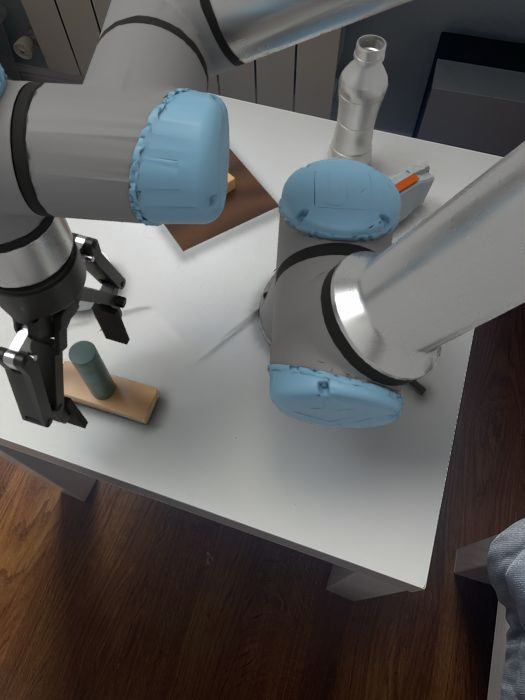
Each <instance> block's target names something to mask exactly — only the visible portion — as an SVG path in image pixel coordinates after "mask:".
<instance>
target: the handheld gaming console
mask: <svg viewBox="0 0 525 700" xmlns="http://www.w3.org/2000/svg"><path fill="white" fill-rule="evenodd" d="M430 169H431V167H430V166H429V165H428V163H426V162H422V163H419V164H415V165H411V166H408V167H406V168H405V169H403V170H401V171H400V172H398V173H396V174H395V175H393V176H392V177H389V179H390V180H391V181H392V182H393V183H394V184H395V186H396V187H397V189H398V191H399V194H400V197H401V210H400V214H401V215H400V216H401V218H400V220H399V223H401V222H402V221H404V220H405V219H406V218H408V217H409V216H410V214H411V213H412V211H414V209H416V208H418V207H419V206H420V205H422V204H423V203H424V202H425V200H426V198H427V196H428V194H429V192H430V190H431V188H432V185H433V183H434V182H435V179H436V178H435V176H434V175H432V174H431V173H430Z"/></svg>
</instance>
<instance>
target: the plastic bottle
mask: <svg viewBox="0 0 525 700" xmlns="http://www.w3.org/2000/svg"><path fill="white" fill-rule="evenodd" d="M386 49H387V41H386V39H385V38H383V37H382V36H379V35H376V34H364V35H362V36H360V37H359V38H358V39H357V41H356V44H355V49H354V51H353V55H352V56H353V60H351V61H349V63H348V64H347V65H346V66H345V67H344V68H343V70H342V71H341V73H340V75H339V78H338V84H337V85H338V86H337V87H338V91H337V92H338V94H337V95H338V106H337V116H336V117H337V118H336V123H335V128H334V132H333V137H332V139H331V141H330V144H329V147H328V150H327V159H344V160H352V161H356V162H360V163H364V164H366V165H369V166H370V163H371V161H372V156H373V138H374V129H375V126H376V124H375V123H376V122H377V118H378V114H379V111H380V109H381V106H382V103H383V101H384V98H385V96H386V94H387V90H388V87H389V78H388V73H387V71H386V68H385V66H384V63H383V62H384V60H385V56H386Z"/></svg>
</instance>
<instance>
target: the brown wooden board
mask: <svg viewBox="0 0 525 700" xmlns="http://www.w3.org/2000/svg"><path fill="white" fill-rule="evenodd" d="M228 173H229V174H231V175H232V176H233V177H234V178H235V189H233V190H232V191H230V192H229V193H227V194H226V200H225V205H224V208H223V210H222V212H221V214H220V215H219V217H218V218H217V219H215V220H214V221H212V222H210V223H207V224H163V225H164V227H165V228H166V229H167V231H168V232H169V234H170V235H171V236H172V238H173V240H175V242H176V244H178V246H179V247H180V249H181V251H182V252H185V251H187V250H190V249H192V248H193V247H196V246H198V245H200V244H202V243H204V242H206V241H208V240H211V239H214V238H215V237H218V236H220V235H221V234H224V233H226V232H228V231H230V230H233V229H234V228H237V227H238V226H240V225H243V224H245V223H247V222H249V221H251V220H253V219H256V218H257V217H259V216H261V215H264V214H266V213H268V212H271V211H272V210H275V209H277V208H278V204H279V203H278V202H277V201H276V200H275V198H274V197H272V196H271V194H270V193H269V192H268V191H267V189H265V187H264V186H263V185H262V184H261V182H260V181H259V180H258V179H257V177H256V176H254V174H252V172H251V171H250V170H249V169H248V167H247V166H246V165H245V164H244V163H243V162H242V161H241V160H240V158H239V157H238V156H237V155H236V154H235V152H234V151H233V150H232V149H231V148H230V147H229V170H228Z"/></svg>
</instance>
